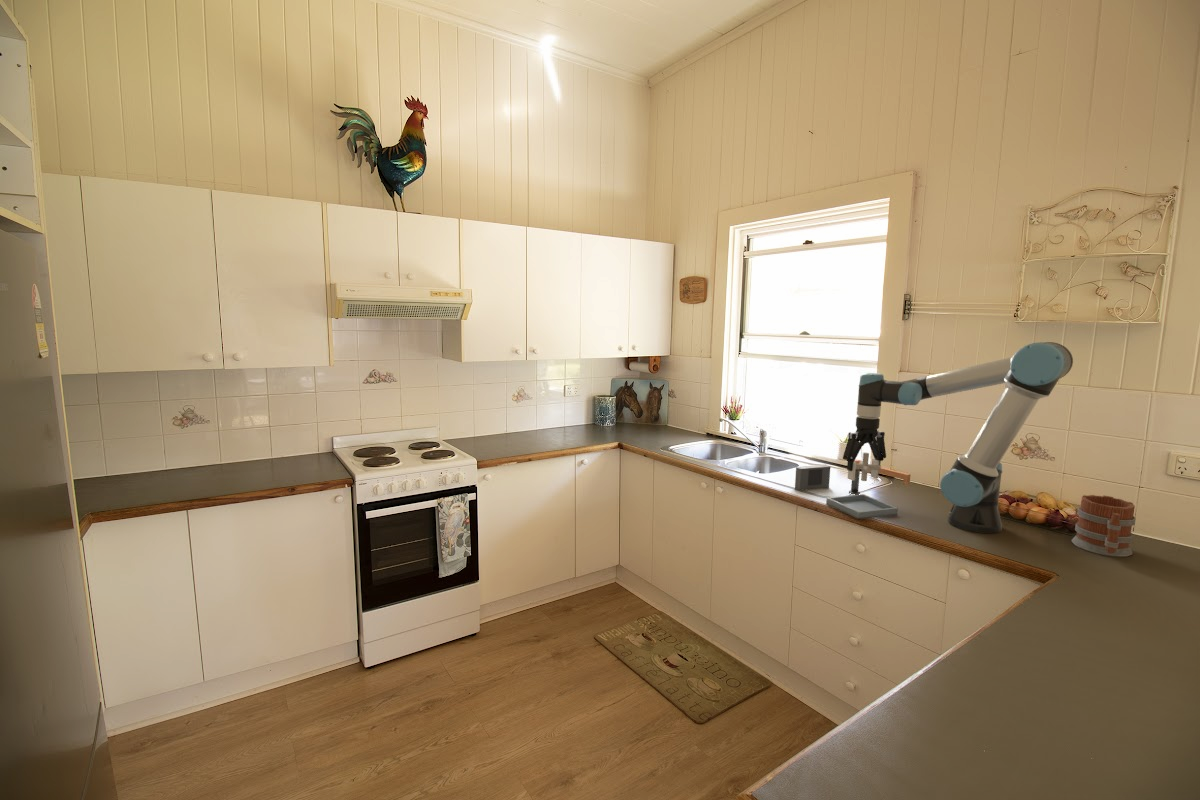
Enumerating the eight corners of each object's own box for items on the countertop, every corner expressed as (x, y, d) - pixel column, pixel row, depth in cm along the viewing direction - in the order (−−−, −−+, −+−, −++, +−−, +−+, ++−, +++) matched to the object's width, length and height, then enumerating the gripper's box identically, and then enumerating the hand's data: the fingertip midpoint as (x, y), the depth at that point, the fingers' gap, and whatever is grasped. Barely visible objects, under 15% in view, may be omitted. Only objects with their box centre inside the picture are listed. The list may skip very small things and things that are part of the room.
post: (862, 495, 223) (864, 470, 222) (853, 495, 222) (855, 470, 221) (854, 492, 227) (856, 467, 226) (846, 492, 226) (848, 468, 225)
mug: (1125, 545, 176) (1132, 498, 174) (1143, 568, 160) (1151, 516, 157) (1067, 536, 183) (1073, 490, 181) (1078, 557, 167) (1085, 507, 165)
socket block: (829, 488, 232) (830, 466, 231) (799, 490, 228) (800, 468, 227) (824, 485, 235) (825, 464, 234) (794, 488, 231) (796, 466, 230)
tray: (897, 515, 201) (897, 508, 201) (858, 519, 196) (858, 512, 196) (862, 500, 217) (863, 494, 216) (826, 504, 212) (826, 497, 211)
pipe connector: (882, 485, 199) (885, 457, 197) (852, 483, 201) (854, 455, 199) (875, 477, 208) (877, 450, 207) (846, 475, 210) (848, 449, 209)
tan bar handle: (855, 469, 225) (855, 459, 225) (910, 483, 206) (911, 472, 206) (849, 470, 224) (850, 460, 223) (905, 485, 205) (906, 473, 204)
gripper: (885, 413, 208) (879, 473, 212) (834, 416, 202) (829, 477, 205) (901, 417, 201) (895, 479, 204) (849, 420, 195) (844, 483, 198)
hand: (862, 478), depth 205 cm, fingers closed on pipe connector, 9 cm apart
